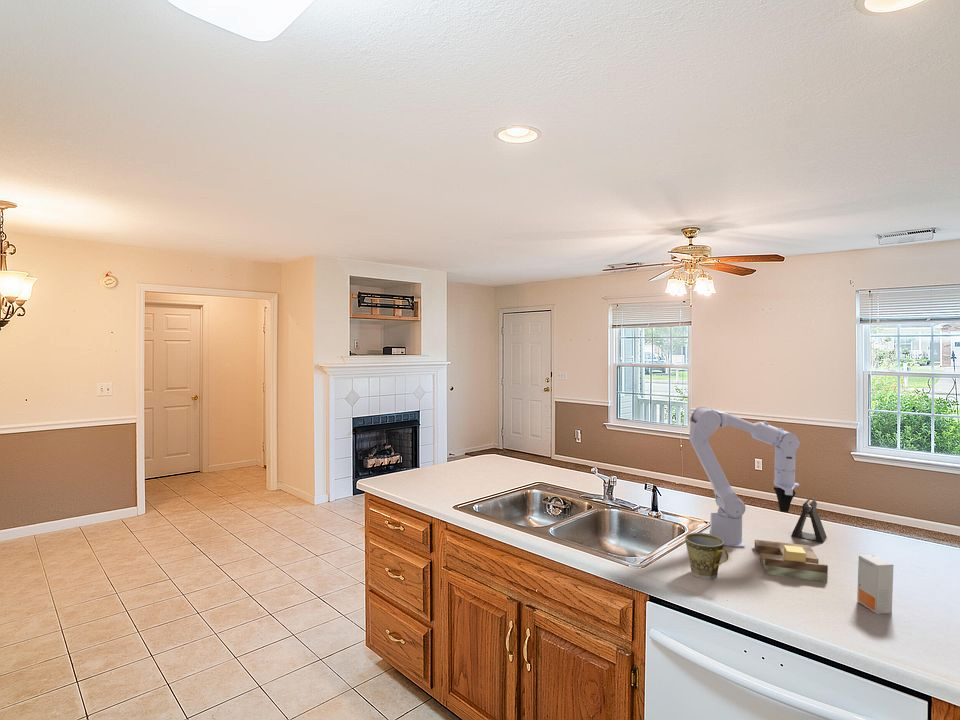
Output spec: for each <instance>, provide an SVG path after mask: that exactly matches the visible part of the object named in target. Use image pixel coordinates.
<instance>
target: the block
mask: <svg viewBox="0 0 960 720" xmlns="http://www.w3.org/2000/svg"><path fill="white" fill-rule="evenodd" d="M784 560H790V561H798V562H806V553H805V551H804V549H803V548H802V547H796V546H787V545H784Z"/></svg>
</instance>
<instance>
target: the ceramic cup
mask: <svg viewBox="0 0 960 720" xmlns="http://www.w3.org/2000/svg"><path fill="white" fill-rule="evenodd" d="M684 536H685V537H684V539H685V545H686V551H687V554H688V558H689V566H690V571H691V575H692V576H694V577H696V578H697V579H700V580H701V579H702V580H708V581H711V580H715V579H717V577H718V573H719V567H720V566H721V564H723V563H726V562H727V561H728V560H729V553H728V551H727V550H726V549H724V546H725V545H724V541H723V539H721V538H720V537H717V536H715V535H711V534H710V533H705V532H692V533H688V534H686V535H684ZM723 554H724V555H725V560H722V561H721V559H722V555H723Z"/></svg>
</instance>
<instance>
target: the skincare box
mask: <svg viewBox="0 0 960 720" xmlns="http://www.w3.org/2000/svg"><path fill="white" fill-rule="evenodd" d="M893 589H894V564H892V563H891V562H889V561H887V560H885V559H883V558H881V557H879V556H877V555H874V554H861V555H858V568H857V598H856V601H857V603H859V604H861V605H862V606H864V607H865V608H867V609H868V610H870V611H871V612H873V613H874V614H876V615H880V614H881V615H882V614H893V613H892V612H893V591H894V590H893Z"/></svg>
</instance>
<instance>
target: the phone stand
mask: <svg viewBox="0 0 960 720" xmlns="http://www.w3.org/2000/svg"><path fill="white" fill-rule="evenodd" d="M817 504H818V503H817V501H816V500H815V499H812V500H811V498H809V499H807V500H806V501H805V502H804V503H803V504H802V506H801V507H802V511H801V514H800V516H799V517H798V520H797V522H796V523H795V526H794V529H793V530H792V532H791V535H790V536H791V537H792V538H796V539H802V540H807V541H812V542H815V543H819V544H823V543H824V542H825V540H826V539H827V537H828V536H827V533H826V531H825V529H824V526H823V523H822V519H821V518H820V515H819V512H818V510H817V506H818V505H817ZM808 515H809V518H810V521H811V525H812V528H813V531H814V533H811V532H810V533H809V532H806V531H803V528H804V526H805V522H806V520H807V517H808Z"/></svg>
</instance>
